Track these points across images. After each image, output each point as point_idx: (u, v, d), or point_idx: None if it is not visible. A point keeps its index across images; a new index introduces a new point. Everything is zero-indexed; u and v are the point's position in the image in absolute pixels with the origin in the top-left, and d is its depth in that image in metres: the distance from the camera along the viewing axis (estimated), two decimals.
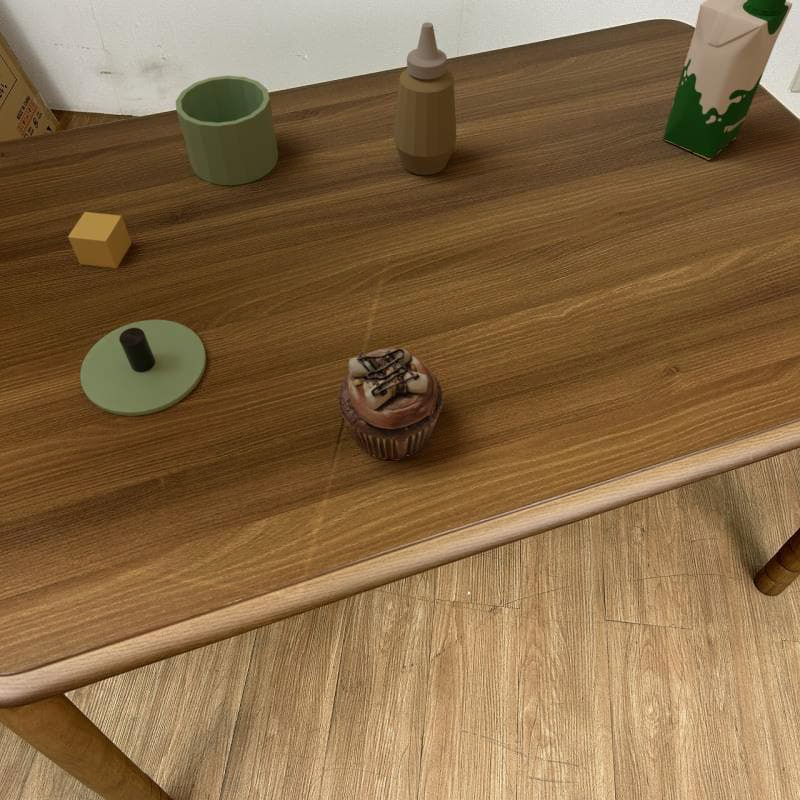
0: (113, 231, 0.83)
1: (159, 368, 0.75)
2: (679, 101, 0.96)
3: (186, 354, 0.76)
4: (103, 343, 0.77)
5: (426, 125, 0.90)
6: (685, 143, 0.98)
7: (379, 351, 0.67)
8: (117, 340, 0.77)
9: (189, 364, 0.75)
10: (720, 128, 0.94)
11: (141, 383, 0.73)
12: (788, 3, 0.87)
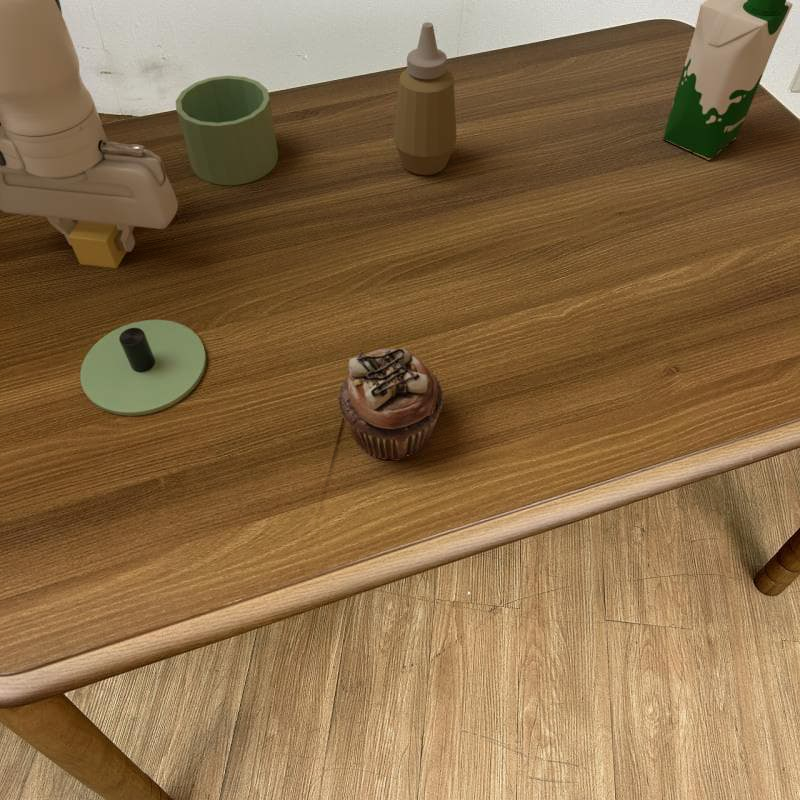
0: (113, 231, 0.83)
1: (159, 368, 0.75)
2: (679, 101, 0.96)
3: (186, 354, 0.76)
4: (103, 343, 0.77)
5: (426, 125, 0.90)
6: (685, 143, 0.98)
7: (379, 351, 0.67)
8: (117, 340, 0.77)
9: (189, 364, 0.75)
10: (720, 128, 0.94)
11: (141, 383, 0.73)
12: (788, 3, 0.87)
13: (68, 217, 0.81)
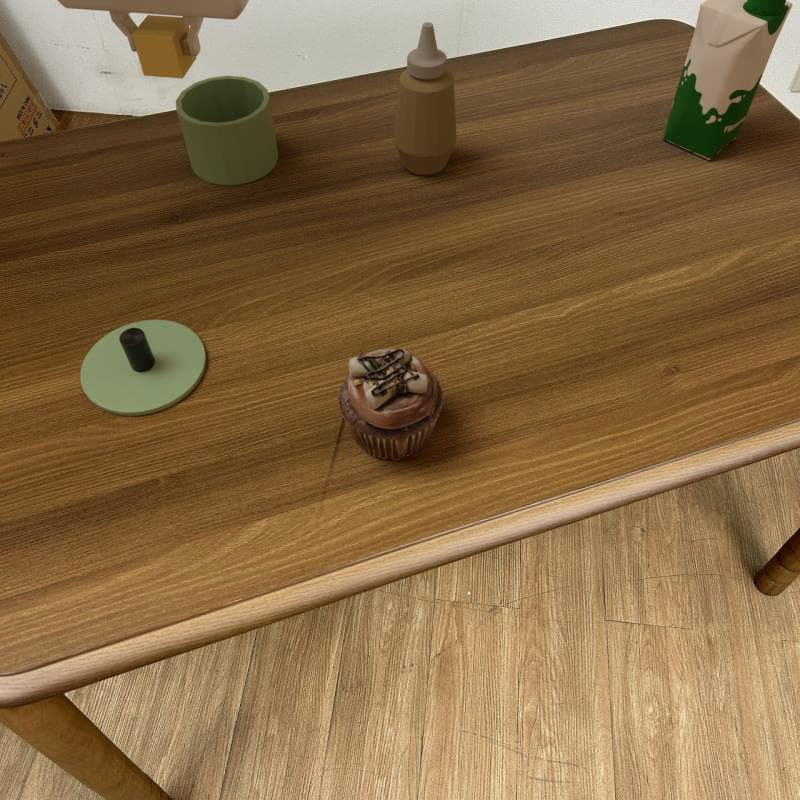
0: (179, 31, 0.79)
1: (159, 368, 0.75)
2: (679, 101, 0.96)
3: (186, 354, 0.76)
4: (103, 343, 0.77)
5: (426, 125, 0.90)
6: (685, 143, 0.98)
7: (379, 351, 0.67)
8: (117, 340, 0.77)
9: (189, 364, 0.75)
10: (720, 128, 0.94)
11: (141, 383, 0.73)
12: (788, 3, 0.87)
13: (133, 9, 0.76)
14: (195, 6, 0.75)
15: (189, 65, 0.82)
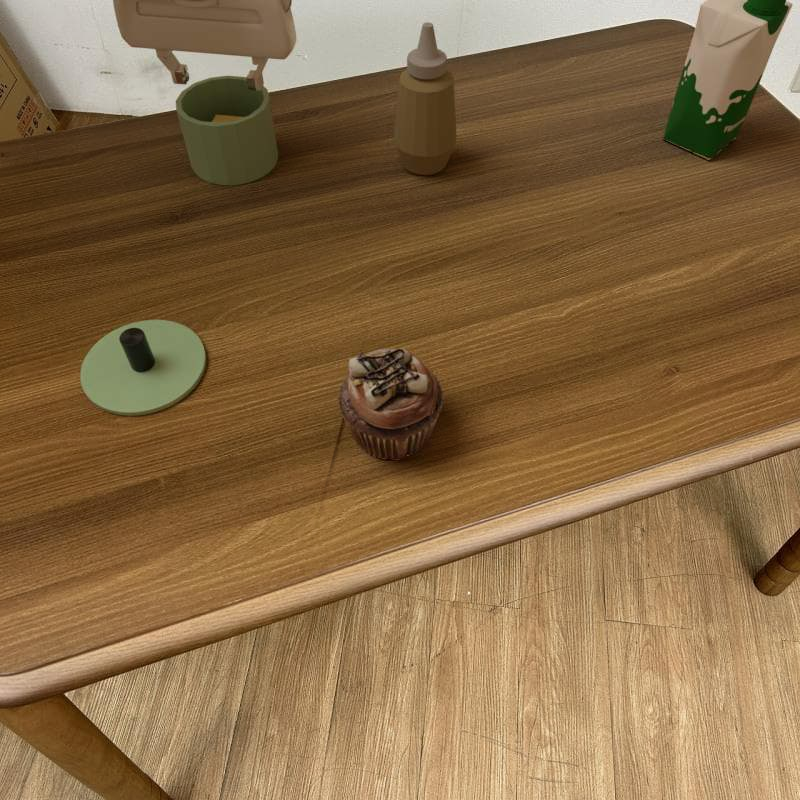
0: None
1: (159, 368, 0.75)
2: (679, 101, 0.96)
3: (186, 354, 0.76)
4: (103, 343, 0.77)
5: (426, 125, 0.90)
6: (685, 143, 0.98)
7: (379, 351, 0.67)
8: (117, 340, 0.77)
9: (189, 364, 0.75)
10: (720, 128, 0.94)
11: (141, 383, 0.73)
12: (788, 3, 0.87)
13: (193, 49, 0.85)
14: (249, 48, 0.84)
15: None
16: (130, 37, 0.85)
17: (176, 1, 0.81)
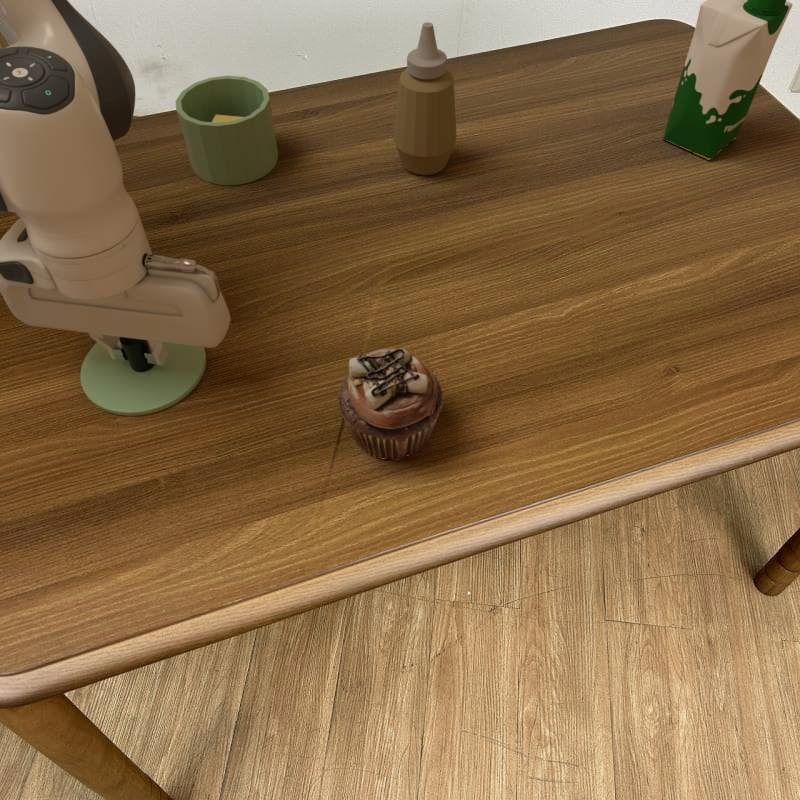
0: None
1: (160, 368, 0.75)
2: (679, 101, 0.96)
3: (186, 354, 0.76)
4: None
5: (426, 125, 0.90)
6: (685, 143, 0.98)
7: (379, 351, 0.67)
8: None
9: (189, 364, 0.75)
10: (720, 128, 0.94)
11: (141, 383, 0.73)
12: (788, 3, 0.87)
13: (103, 333, 0.69)
14: (171, 336, 0.68)
15: None
16: (25, 318, 0.69)
17: None
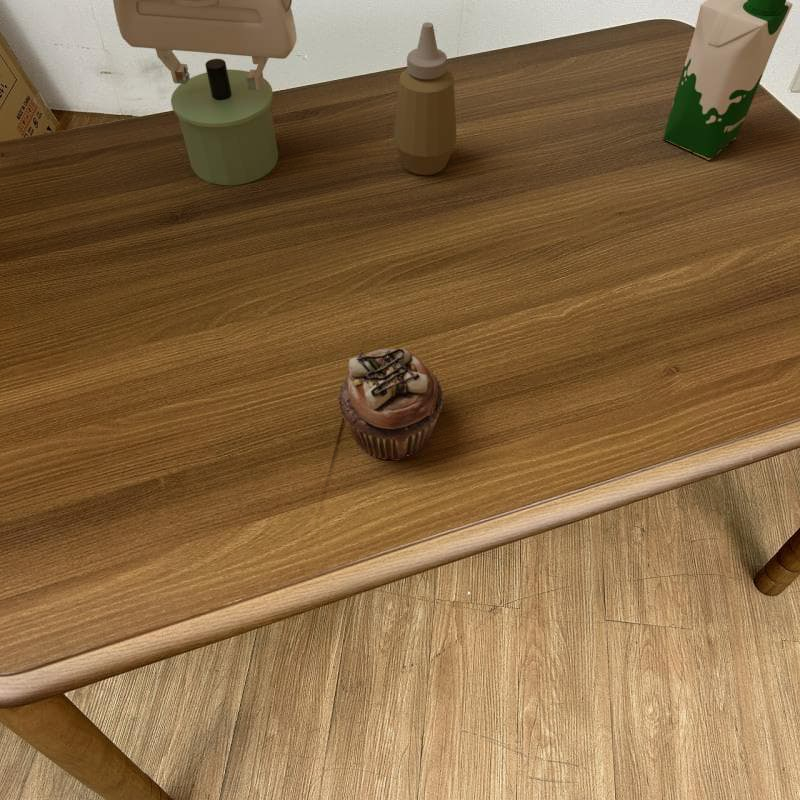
0: None
1: (236, 97, 0.91)
2: (679, 101, 0.96)
3: None
4: (187, 83, 0.93)
5: (426, 125, 0.90)
6: (685, 143, 0.98)
7: (379, 351, 0.67)
8: (199, 81, 0.93)
9: (259, 95, 0.91)
10: (720, 128, 0.94)
11: (222, 106, 0.90)
12: (788, 3, 0.87)
13: (193, 49, 0.85)
14: (250, 47, 0.84)
15: None
16: (130, 37, 0.85)
17: (176, 0, 0.81)
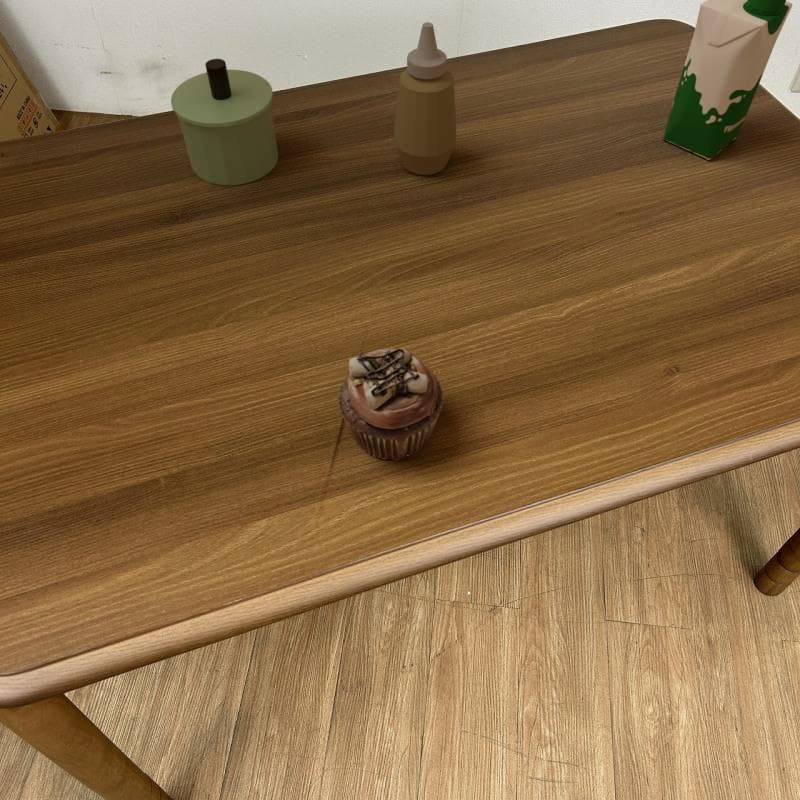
0: None
1: (236, 97, 0.91)
2: (679, 101, 0.96)
3: (256, 89, 0.92)
4: (187, 83, 0.93)
5: (426, 125, 0.90)
6: (685, 143, 0.98)
7: (379, 351, 0.67)
8: (199, 81, 0.93)
9: (259, 95, 0.91)
10: (720, 128, 0.94)
11: (222, 106, 0.90)
12: (788, 3, 0.87)
13: None
14: None
15: None
16: None
17: None
